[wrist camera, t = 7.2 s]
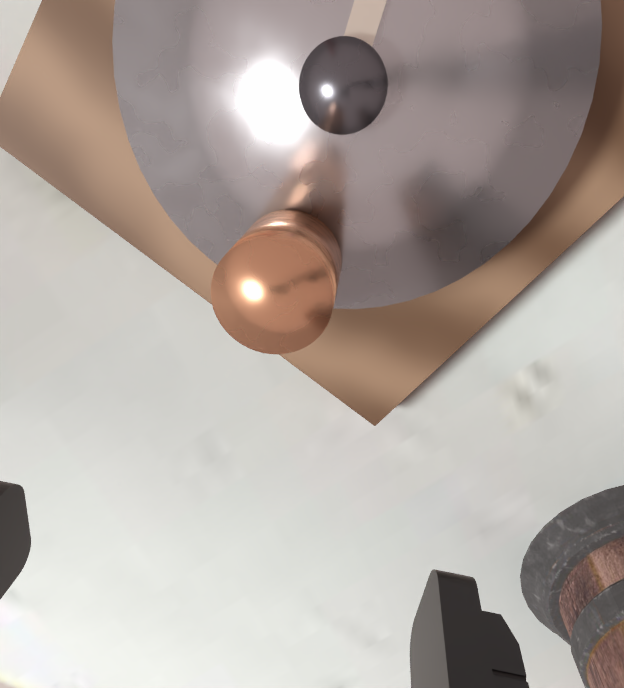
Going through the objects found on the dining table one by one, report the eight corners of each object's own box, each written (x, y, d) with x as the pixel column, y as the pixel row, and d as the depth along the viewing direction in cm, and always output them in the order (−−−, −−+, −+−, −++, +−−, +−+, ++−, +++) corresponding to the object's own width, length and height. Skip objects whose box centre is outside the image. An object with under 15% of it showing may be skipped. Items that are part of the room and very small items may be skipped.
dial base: (301, -513, 18) (290, -587, 16) (775, 30, 23) (812, 25, 21) (8, 131, 29) (-20, 135, 27) (375, 407, 34) (374, 428, 32)
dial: (170, -310, 19) (76, -484, 13) (695, -112, 19) (829, -195, 14) (100, 234, 28) (27, 274, 22) (458, 355, 29) (477, 425, 23)
